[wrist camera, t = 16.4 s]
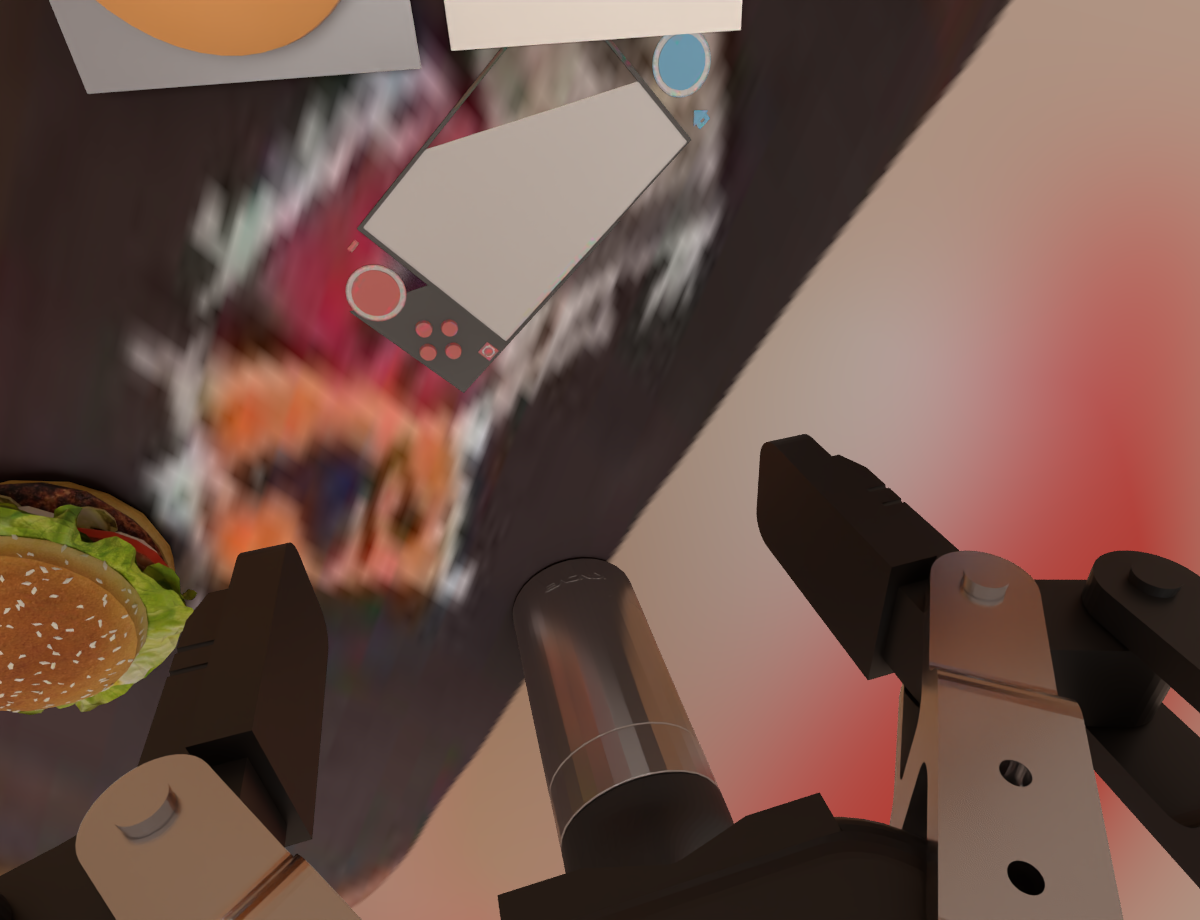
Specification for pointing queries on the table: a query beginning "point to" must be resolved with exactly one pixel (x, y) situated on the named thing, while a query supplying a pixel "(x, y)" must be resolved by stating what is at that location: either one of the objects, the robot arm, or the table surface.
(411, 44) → the button base
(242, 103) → the table surface
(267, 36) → the button
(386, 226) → the gaming console
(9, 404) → the table surface
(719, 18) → the paper
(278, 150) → the table surface
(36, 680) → the food
